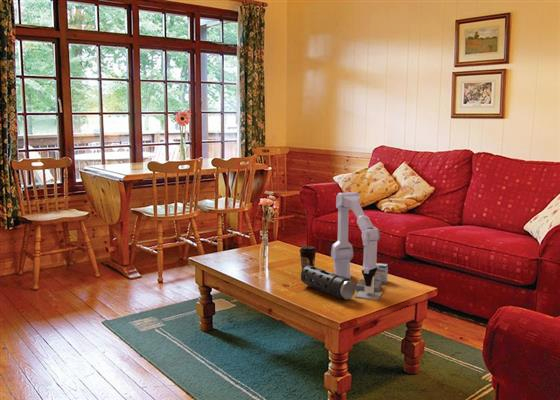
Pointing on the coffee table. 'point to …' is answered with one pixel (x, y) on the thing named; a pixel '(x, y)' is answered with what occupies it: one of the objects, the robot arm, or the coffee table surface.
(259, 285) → the coffee table surface
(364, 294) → the rubber pad
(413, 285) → the coffee table surface
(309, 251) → the coffee cup
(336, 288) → the muzzle brake
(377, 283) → the socket block
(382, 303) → the coffee table surface
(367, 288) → the plug
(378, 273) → the medicine box
